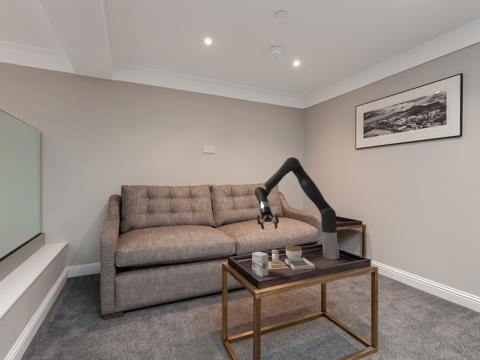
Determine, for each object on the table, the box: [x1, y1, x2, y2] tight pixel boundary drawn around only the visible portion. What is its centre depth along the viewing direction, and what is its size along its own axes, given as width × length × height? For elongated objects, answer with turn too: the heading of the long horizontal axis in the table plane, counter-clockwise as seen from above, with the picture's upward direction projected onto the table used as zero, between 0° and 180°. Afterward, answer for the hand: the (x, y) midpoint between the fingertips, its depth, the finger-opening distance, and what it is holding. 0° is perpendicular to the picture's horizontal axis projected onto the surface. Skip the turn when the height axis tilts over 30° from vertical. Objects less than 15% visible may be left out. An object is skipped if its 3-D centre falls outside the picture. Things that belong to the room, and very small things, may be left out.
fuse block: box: [268, 260, 289, 270], centre depth 150 cm, size 12×12×2 cm
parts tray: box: [284, 257, 316, 271], centre depth 150 cm, size 13×17×2 cm
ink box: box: [251, 251, 269, 278], centre depth 137 cm, size 9×5×12 cm, turn 35°
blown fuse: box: [271, 249, 280, 264], centre depth 150 cm, size 4×4×9 cm
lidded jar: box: [285, 244, 303, 259], centre depth 165 cm, size 11×11×9 cm
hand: (269, 228), depth 162 cm, fingers open, 8 cm apart
